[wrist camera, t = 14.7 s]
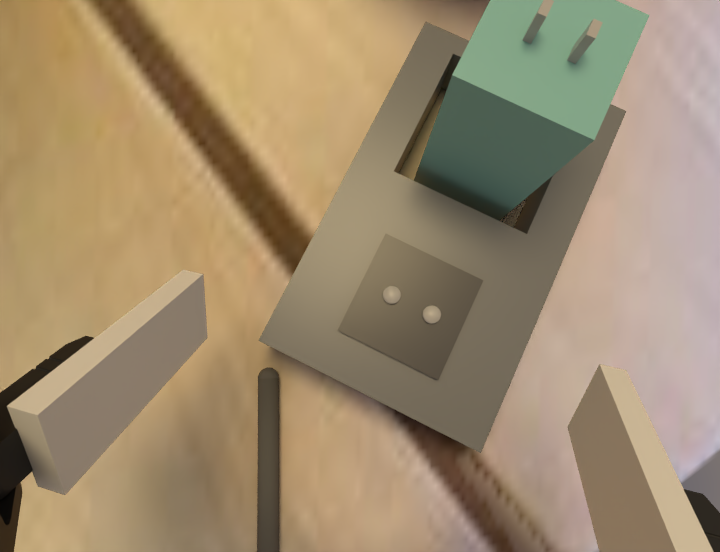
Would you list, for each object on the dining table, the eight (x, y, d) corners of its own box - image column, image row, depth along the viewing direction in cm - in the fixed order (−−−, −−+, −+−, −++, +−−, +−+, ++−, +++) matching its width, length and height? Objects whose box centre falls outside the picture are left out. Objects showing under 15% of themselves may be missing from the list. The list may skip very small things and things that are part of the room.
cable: (280, 601, 21) (276, 614, 20) (259, 602, 21) (254, 615, 20) (280, 366, 22) (276, 367, 21) (260, 367, 22) (256, 368, 21)
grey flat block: (463, 438, 22) (483, 455, 19) (271, 341, 23) (256, 340, 19) (593, 139, 24) (631, 106, 21) (417, 59, 25) (427, 15, 22)
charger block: (494, 225, 24) (617, 121, 13) (411, 185, 24) (461, 50, 13) (529, 148, 24) (675, -15, 13) (449, 110, 25) (526, -78, 14)
